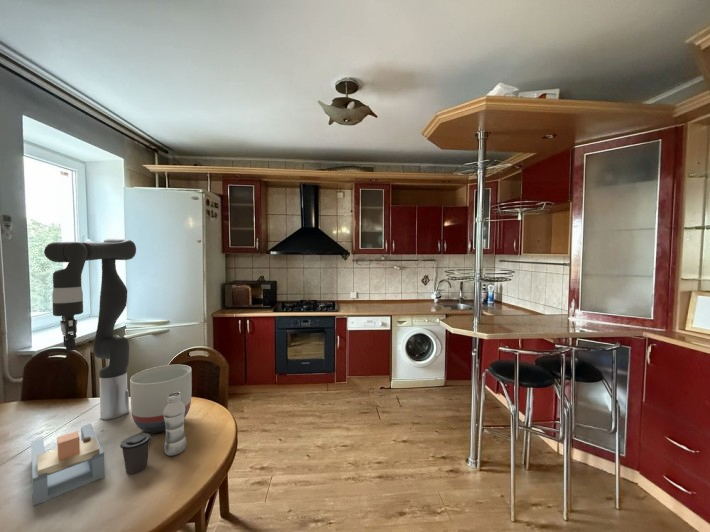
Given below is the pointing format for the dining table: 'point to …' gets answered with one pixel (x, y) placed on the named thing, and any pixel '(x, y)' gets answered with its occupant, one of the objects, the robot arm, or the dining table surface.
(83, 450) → the lid
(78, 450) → the block
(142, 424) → the planter
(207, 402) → the dining table surface
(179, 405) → the plastic bottle
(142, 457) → the coffee cup
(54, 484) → the stand
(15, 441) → the dining table surface
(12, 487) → the dining table surface
